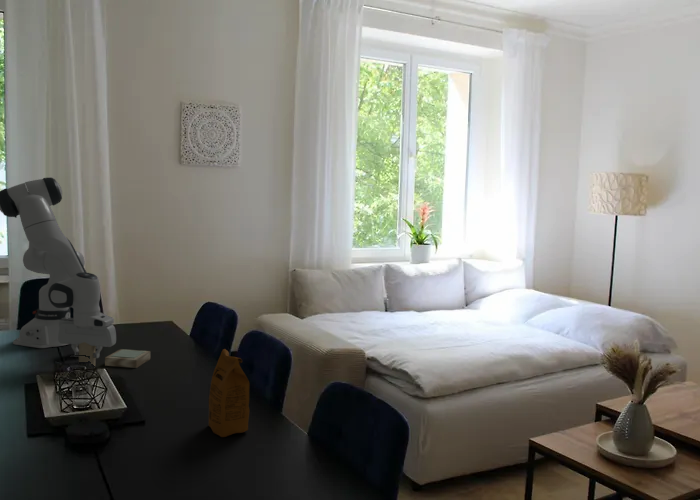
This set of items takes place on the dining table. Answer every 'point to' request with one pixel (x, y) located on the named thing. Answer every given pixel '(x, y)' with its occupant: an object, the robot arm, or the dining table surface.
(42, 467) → the dining table surface
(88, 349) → the candle
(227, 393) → the coffee package
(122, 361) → the plinth
